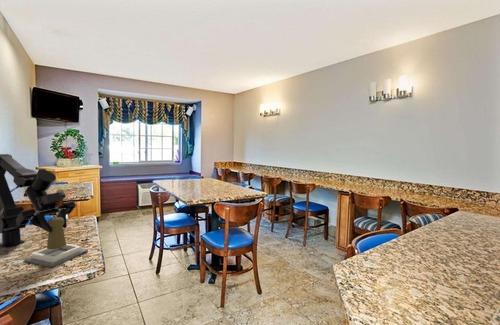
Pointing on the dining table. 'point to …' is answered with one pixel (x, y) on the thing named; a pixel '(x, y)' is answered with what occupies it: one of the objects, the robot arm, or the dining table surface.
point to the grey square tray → (55, 255)
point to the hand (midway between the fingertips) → (58, 229)
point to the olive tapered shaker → (56, 233)
